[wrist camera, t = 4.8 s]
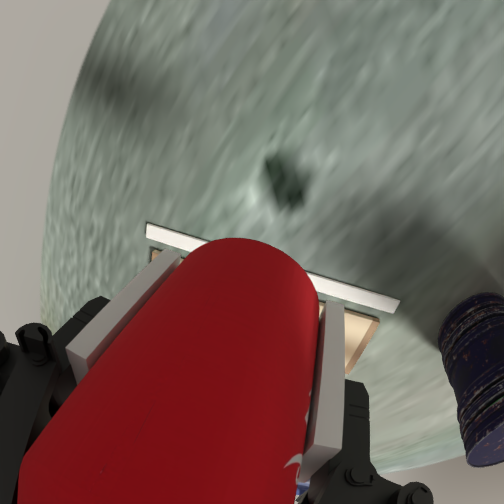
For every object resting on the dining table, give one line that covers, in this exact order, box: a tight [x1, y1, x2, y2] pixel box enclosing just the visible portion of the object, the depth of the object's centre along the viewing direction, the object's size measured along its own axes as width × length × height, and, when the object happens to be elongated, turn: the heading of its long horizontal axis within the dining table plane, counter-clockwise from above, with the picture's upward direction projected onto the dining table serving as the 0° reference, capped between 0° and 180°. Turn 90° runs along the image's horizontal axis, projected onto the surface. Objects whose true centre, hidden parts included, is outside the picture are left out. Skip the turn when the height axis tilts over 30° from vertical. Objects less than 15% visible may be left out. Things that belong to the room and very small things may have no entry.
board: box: [152, 250, 380, 374], centre depth 32 cm, size 8×24×1 cm, turn 78°
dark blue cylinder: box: [438, 292, 504, 468], centre depth 20 cm, size 10×10×15 cm
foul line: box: [146, 223, 400, 314], centre depth 29 cm, size 2×26×1 cm, turn 78°
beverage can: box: [17, 238, 320, 504], centre depth 8 cm, size 6×6×12 cm
